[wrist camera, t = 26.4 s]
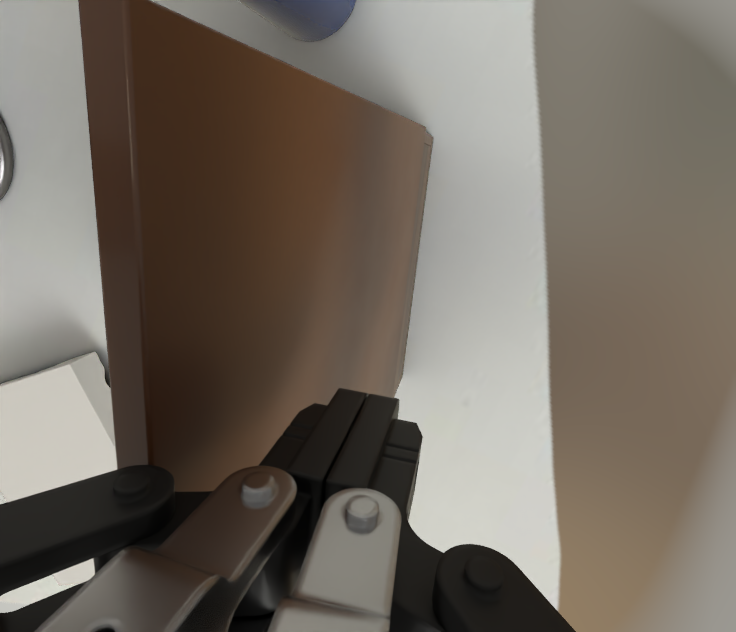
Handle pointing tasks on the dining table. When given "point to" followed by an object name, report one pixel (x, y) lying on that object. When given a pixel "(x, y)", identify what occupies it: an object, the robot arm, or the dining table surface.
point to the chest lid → (237, 238)
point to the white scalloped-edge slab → (56, 435)
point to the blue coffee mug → (304, 16)
